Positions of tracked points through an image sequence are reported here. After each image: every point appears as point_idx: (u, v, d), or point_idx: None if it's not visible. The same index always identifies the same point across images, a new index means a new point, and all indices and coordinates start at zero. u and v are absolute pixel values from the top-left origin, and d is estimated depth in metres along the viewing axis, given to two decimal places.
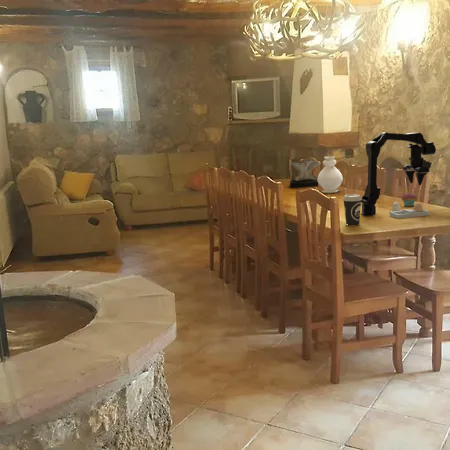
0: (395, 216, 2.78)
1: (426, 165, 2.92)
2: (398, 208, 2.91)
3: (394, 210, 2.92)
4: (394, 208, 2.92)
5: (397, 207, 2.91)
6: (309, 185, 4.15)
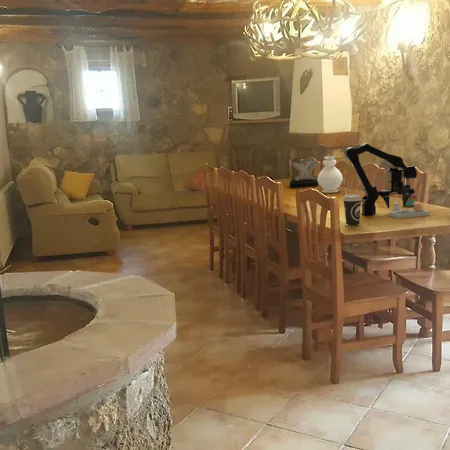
0: (395, 216, 2.78)
1: (396, 190, 2.86)
2: (398, 208, 2.91)
3: (394, 210, 2.92)
4: (394, 208, 2.92)
5: (397, 207, 2.91)
6: (309, 185, 4.15)
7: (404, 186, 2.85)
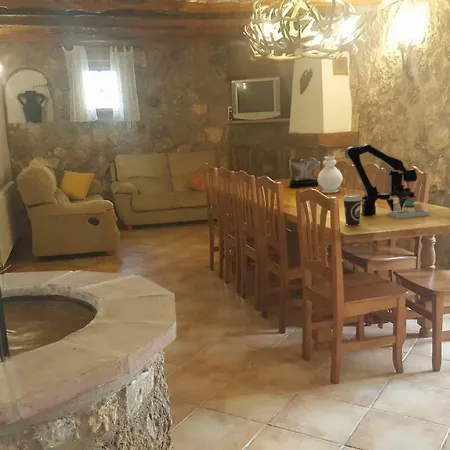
0: (395, 216, 2.78)
1: (396, 194, 2.86)
2: (398, 208, 2.91)
3: (394, 210, 2.92)
4: (394, 208, 2.92)
5: (397, 207, 2.91)
6: (309, 185, 4.15)
7: (404, 189, 2.86)
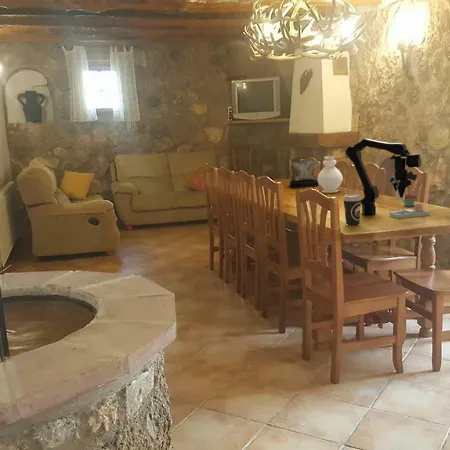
0: (395, 216, 2.78)
1: (411, 177, 2.78)
2: None
3: (403, 196, 2.81)
4: None
5: None
6: (309, 185, 4.15)
7: (409, 173, 2.81)
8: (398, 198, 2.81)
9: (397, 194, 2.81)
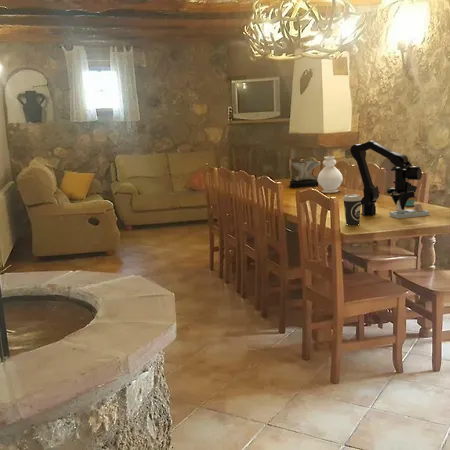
0: (395, 216, 2.78)
1: (411, 189, 2.77)
2: None
3: (404, 208, 2.79)
4: None
5: None
6: (309, 185, 4.15)
7: (408, 184, 2.81)
8: (399, 210, 2.79)
9: (398, 206, 2.79)
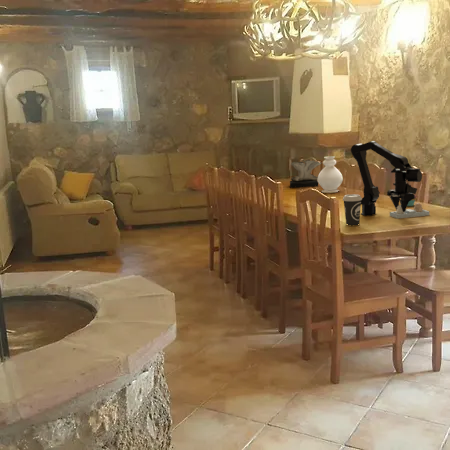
0: (395, 216, 2.78)
1: (411, 191, 2.77)
2: None
3: (404, 213, 2.80)
4: None
5: None
6: (309, 185, 4.15)
7: None
8: None
9: (398, 211, 2.79)
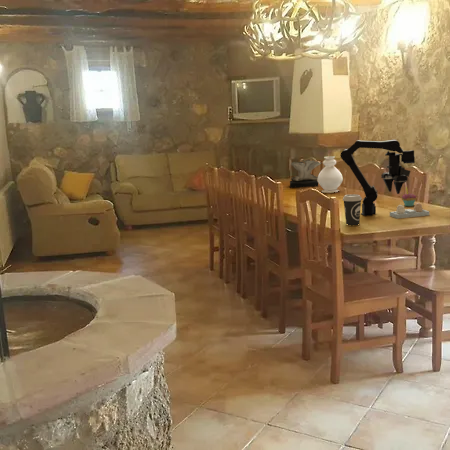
0: (395, 216, 2.78)
1: (405, 173, 2.84)
2: None
3: (404, 213, 2.80)
4: (404, 211, 2.79)
5: None
6: (309, 185, 4.15)
7: (402, 169, 2.88)
8: None
9: (398, 211, 2.79)
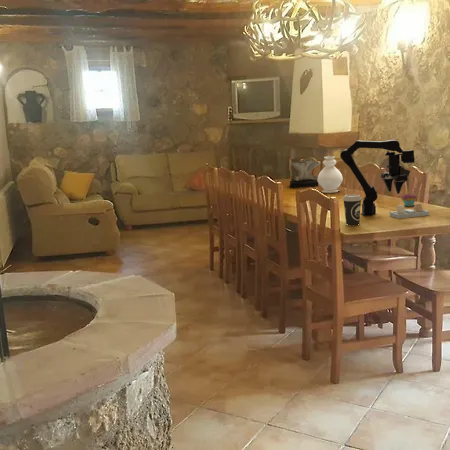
0: (395, 216, 2.78)
1: (404, 173, 2.84)
2: None
3: (404, 213, 2.80)
4: (404, 211, 2.79)
5: None
6: (309, 185, 4.15)
7: None
8: None
9: (398, 211, 2.79)
